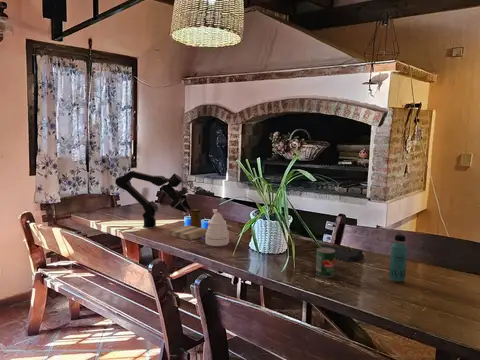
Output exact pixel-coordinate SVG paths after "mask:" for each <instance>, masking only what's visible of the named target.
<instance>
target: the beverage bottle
mask: <svg viewBox="0 0 480 360" xmlns="http://www.w3.org/2000/svg"><path fill="white" fill-rule="evenodd" d="M394 240H395V241H396V242H393V243H392V244H391V245H390V246H391V247H390V248H391V250H390V261H389V267H388V271H389V272H388V277H389V279H390V280H391V281H392V280H393V281H397V282H402V281H405V279H406V272H407V260H408V259H407V257H408V255H407V254H408V247H409V246H407V244H406V243H404V242H406V236H405V235H404V234H395V236H394Z"/></svg>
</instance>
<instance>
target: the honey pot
mask: <svg viewBox="0 0 480 360" xmlns="http://www.w3.org/2000/svg"><path fill="white" fill-rule="evenodd" d="M212 212H213V215H212V217H211V219H209V220H208V221H207V224H208V226H207V228H206V229H207V232H206V235H205V244H206V245H208V246H211V247H213V246H214V247H222V246H228V245H229V244H228V243H230V232H229V230H228V226H227V221H226V220H225V219H224V217H223V215H222V214H221V213H220V212H218V209H212Z"/></svg>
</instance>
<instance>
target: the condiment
mask: <svg viewBox="0 0 480 360" xmlns="http://www.w3.org/2000/svg"><path fill="white" fill-rule="evenodd" d="M190 212H191V214H190V226H194V227H199V228H202V226H201V225H202V221H201V219H202V216H201V210H200V209H197V208H193V209H191V211H190Z"/></svg>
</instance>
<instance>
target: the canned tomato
mask: <svg viewBox="0 0 480 360" xmlns="http://www.w3.org/2000/svg"><path fill="white" fill-rule="evenodd" d="M316 251H317V254H316V258H315V259H316V261H315V263H316V264H315V275H316V276H318V277H320V276H321V277H322V278H333V277H334V276H335V263H336V259H335V250H334V249H332V248H326V247H322V246H321V247H318V248H316Z"/></svg>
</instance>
